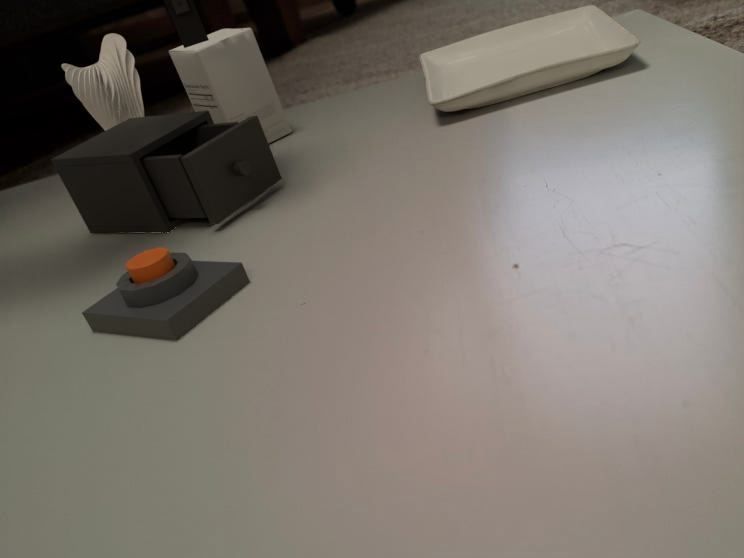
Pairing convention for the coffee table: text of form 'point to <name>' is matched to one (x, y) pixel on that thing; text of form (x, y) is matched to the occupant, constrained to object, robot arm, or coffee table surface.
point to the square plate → (524, 58)
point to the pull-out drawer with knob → (212, 170)
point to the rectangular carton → (231, 80)
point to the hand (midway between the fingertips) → (193, 35)
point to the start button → (150, 265)
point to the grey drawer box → (123, 174)
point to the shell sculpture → (108, 84)
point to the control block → (167, 299)
